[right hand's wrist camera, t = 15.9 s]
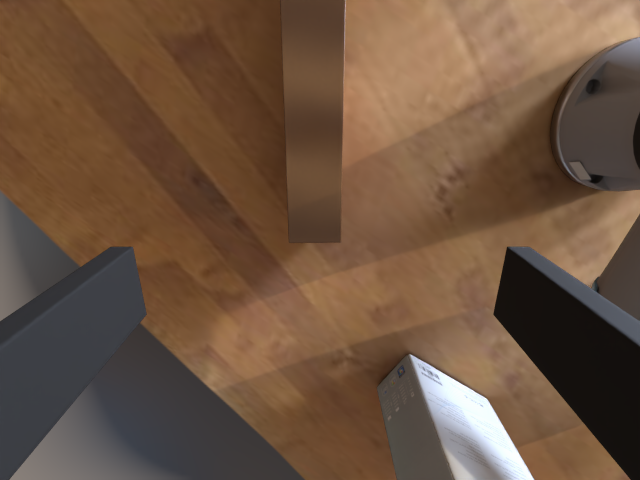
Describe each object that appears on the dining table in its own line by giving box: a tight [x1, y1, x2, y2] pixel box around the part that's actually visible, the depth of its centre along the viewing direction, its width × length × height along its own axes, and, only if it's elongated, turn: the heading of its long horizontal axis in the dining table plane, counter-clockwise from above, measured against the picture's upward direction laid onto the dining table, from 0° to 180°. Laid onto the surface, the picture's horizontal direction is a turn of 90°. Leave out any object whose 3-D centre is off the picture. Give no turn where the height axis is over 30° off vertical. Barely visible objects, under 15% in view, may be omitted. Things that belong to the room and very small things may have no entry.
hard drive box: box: [377, 354, 534, 480], centre depth 42 cm, size 16×8×20 cm, turn 56°
